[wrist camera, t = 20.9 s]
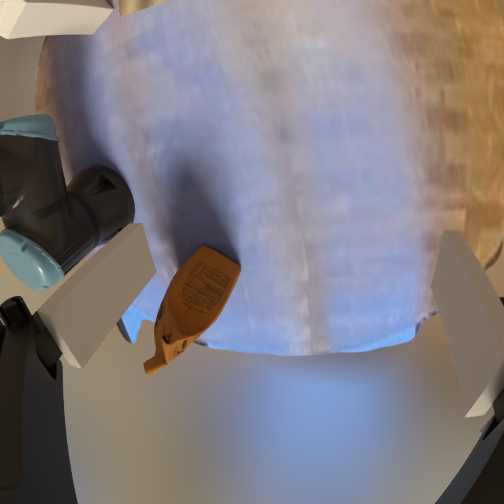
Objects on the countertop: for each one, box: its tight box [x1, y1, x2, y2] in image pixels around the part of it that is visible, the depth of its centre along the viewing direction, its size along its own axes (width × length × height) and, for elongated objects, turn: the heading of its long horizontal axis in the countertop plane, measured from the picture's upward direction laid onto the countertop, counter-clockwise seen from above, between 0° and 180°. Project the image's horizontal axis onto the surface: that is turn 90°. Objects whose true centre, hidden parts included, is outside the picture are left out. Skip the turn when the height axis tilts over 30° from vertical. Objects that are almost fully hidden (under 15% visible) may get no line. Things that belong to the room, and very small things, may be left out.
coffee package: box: [144, 246, 241, 375], centre depth 48 cm, size 10×12×22 cm
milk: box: [0, 0, 114, 39], centre depth 26 cm, size 6×6×22 cm
